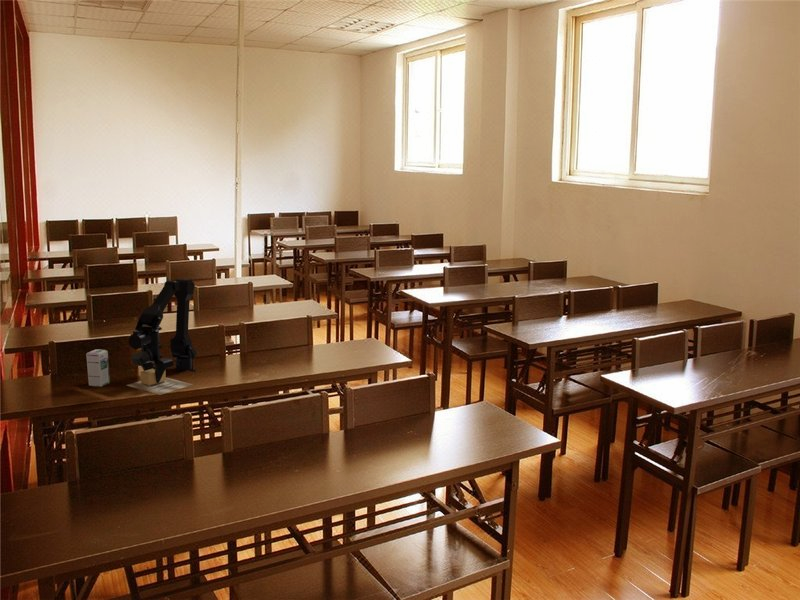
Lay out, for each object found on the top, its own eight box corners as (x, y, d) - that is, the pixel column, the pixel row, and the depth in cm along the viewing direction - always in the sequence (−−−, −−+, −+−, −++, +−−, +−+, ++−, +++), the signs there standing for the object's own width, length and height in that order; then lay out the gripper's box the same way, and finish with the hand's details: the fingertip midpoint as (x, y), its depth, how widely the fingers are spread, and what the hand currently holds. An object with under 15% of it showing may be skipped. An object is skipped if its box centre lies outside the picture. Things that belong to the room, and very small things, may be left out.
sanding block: (157, 379, 288) (157, 367, 287) (165, 381, 285) (165, 369, 285) (140, 384, 282) (140, 371, 281) (149, 386, 279) (148, 374, 278)
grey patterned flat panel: (159, 378, 294) (159, 375, 293) (193, 387, 283) (193, 384, 283) (126, 388, 281) (126, 385, 280) (160, 397, 270) (159, 394, 270)
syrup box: (101, 389, 278) (99, 353, 276) (88, 388, 280) (85, 352, 277) (110, 385, 284) (108, 349, 281) (97, 384, 285) (94, 348, 282)
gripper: (118, 343, 279) (121, 382, 282) (150, 351, 269) (151, 390, 272) (143, 338, 288) (144, 375, 291) (173, 345, 278) (175, 383, 281)
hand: (153, 381), depth 283 cm, fingers closed on sanding block, 5 cm apart
